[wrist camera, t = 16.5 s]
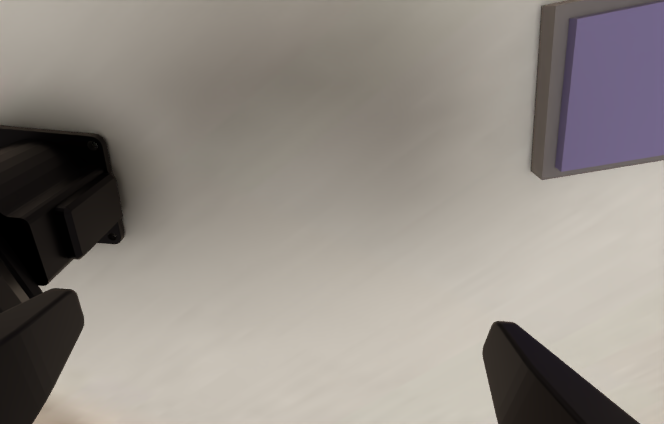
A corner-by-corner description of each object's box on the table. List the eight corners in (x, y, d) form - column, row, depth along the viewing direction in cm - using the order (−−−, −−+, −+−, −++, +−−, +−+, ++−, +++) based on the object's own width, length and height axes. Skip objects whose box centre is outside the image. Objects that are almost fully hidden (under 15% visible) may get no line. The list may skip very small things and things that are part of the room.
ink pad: (531, 170, 20) (547, 184, 19) (541, 5, 17) (563, 5, 15) (730, 137, 20) (765, 149, 18) (789, -46, 16) (840, -51, 14)
